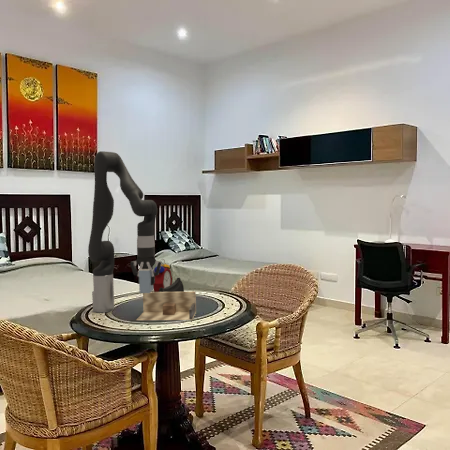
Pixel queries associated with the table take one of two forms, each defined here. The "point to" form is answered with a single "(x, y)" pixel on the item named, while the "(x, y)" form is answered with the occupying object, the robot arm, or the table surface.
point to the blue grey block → (145, 281)
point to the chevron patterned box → (168, 306)
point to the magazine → (174, 287)
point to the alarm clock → (162, 277)
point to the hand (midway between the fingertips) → (146, 284)
